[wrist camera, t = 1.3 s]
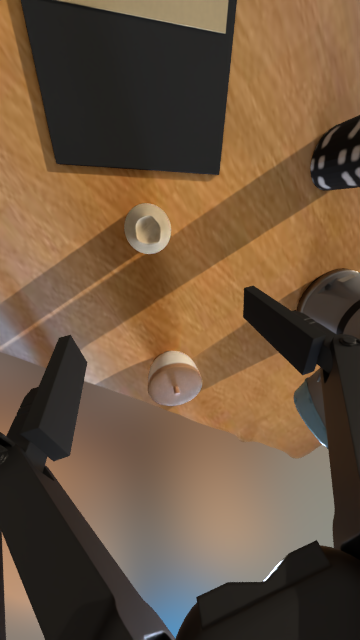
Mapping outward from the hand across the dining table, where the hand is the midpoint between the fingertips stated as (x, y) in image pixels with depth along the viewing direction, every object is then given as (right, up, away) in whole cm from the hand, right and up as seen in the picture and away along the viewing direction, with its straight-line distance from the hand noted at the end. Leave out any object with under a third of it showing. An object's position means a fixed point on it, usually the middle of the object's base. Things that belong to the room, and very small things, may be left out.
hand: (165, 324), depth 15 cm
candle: (-4, +15, +16) cm, 23 cm away
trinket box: (-1, -9, +30) cm, 32 cm away
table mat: (-4, +32, +7) cm, 33 cm away
